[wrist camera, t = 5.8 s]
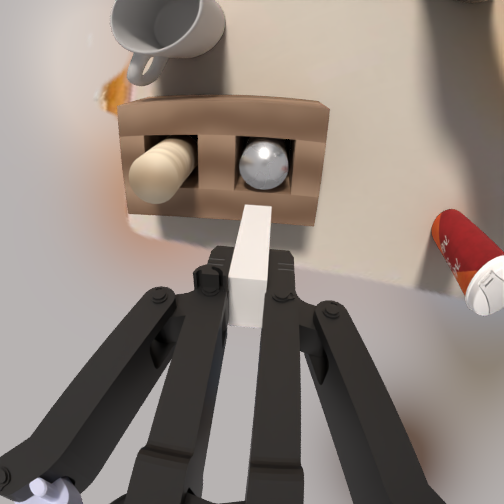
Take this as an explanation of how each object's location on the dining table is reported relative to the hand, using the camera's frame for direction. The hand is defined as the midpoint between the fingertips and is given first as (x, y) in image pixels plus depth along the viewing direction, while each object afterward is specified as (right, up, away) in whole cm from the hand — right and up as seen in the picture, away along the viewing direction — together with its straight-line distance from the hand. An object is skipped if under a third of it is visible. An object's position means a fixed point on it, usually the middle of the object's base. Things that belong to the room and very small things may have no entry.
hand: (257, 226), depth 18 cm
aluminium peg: (+1, +11, +16) cm, 20 cm away
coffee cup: (+28, +2, +20) cm, 35 cm away
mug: (-8, +23, +10) cm, 26 cm away
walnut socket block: (-3, +11, +17) cm, 21 cm away
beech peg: (-8, +9, +13) cm, 18 cm away
